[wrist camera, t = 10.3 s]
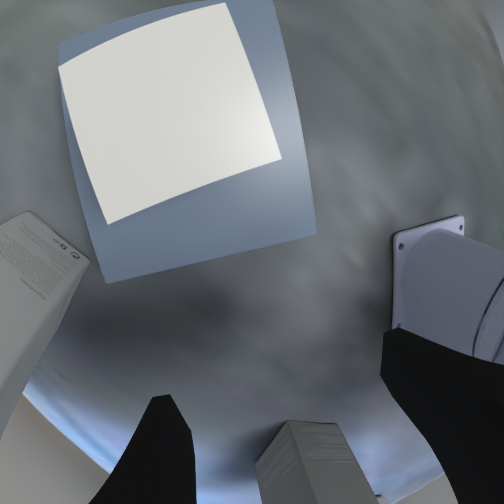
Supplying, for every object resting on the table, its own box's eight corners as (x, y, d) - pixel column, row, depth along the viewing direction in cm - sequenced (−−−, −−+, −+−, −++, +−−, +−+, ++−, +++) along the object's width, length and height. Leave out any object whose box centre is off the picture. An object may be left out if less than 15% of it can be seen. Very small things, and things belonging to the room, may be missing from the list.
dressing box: (293, 218, 19) (317, 234, 15) (123, 258, 17) (106, 284, 14) (256, 24, 14) (270, -5, 10) (83, 63, 13) (58, 44, 9)
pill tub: (249, 159, 13) (281, 158, 8) (142, 199, 13) (107, 224, 8) (214, 58, 11) (225, 2, 6) (107, 98, 11) (58, 66, 6)
